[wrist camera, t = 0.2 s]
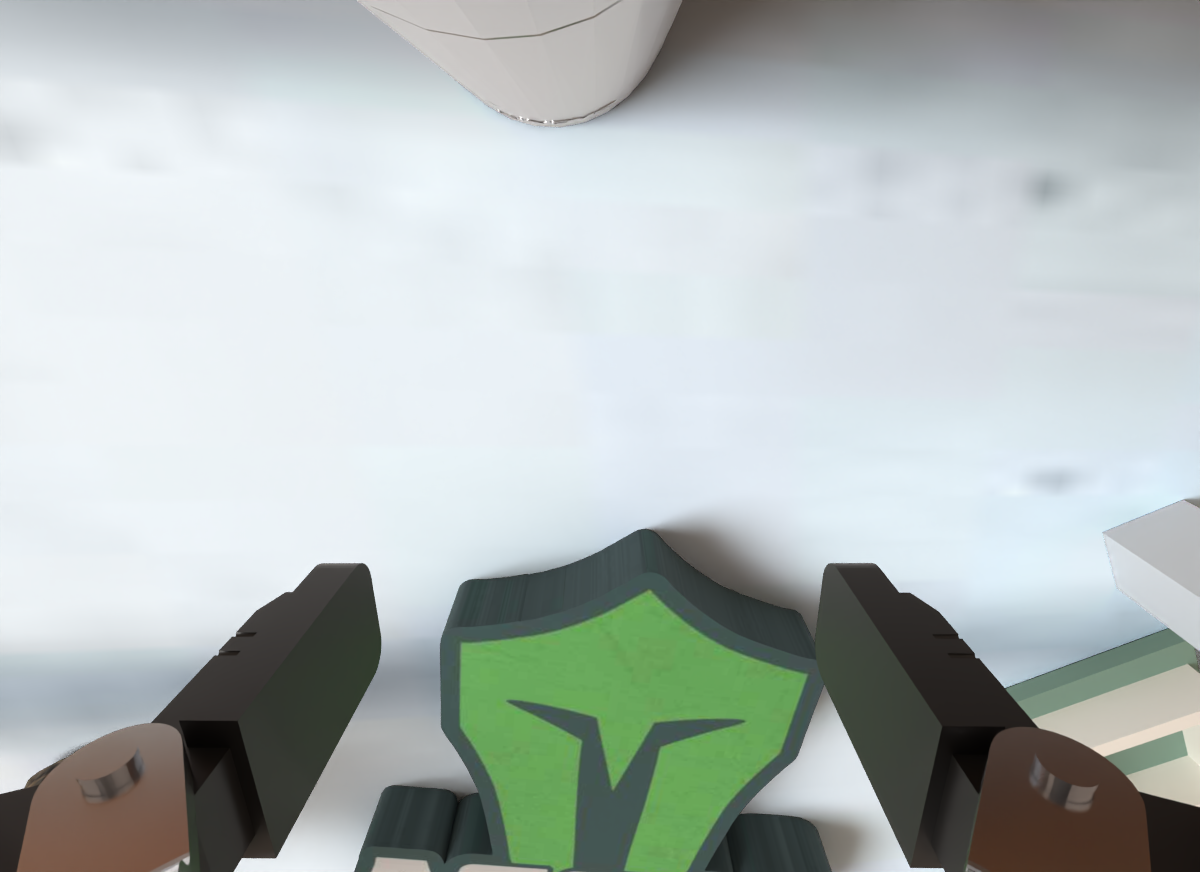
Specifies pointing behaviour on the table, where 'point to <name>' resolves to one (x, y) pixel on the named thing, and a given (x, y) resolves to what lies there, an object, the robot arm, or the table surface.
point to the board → (1129, 711)
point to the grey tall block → (1161, 566)
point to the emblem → (611, 726)
